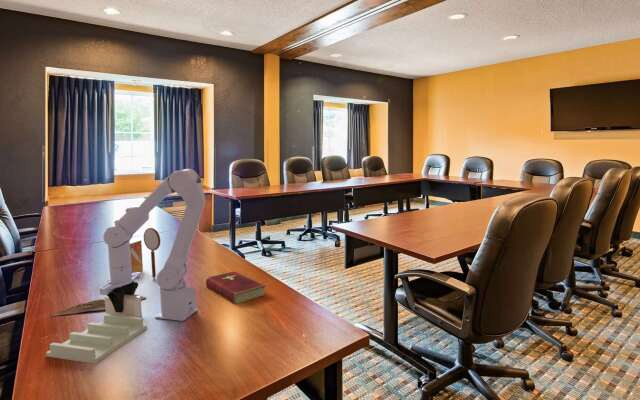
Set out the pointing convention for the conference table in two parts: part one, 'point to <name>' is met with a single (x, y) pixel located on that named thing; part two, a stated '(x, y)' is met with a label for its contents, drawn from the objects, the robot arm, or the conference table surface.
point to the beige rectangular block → (126, 306)
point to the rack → (98, 339)
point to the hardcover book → (235, 286)
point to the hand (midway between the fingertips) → (123, 309)
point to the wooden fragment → (86, 307)
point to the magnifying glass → (152, 245)
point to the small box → (136, 255)
